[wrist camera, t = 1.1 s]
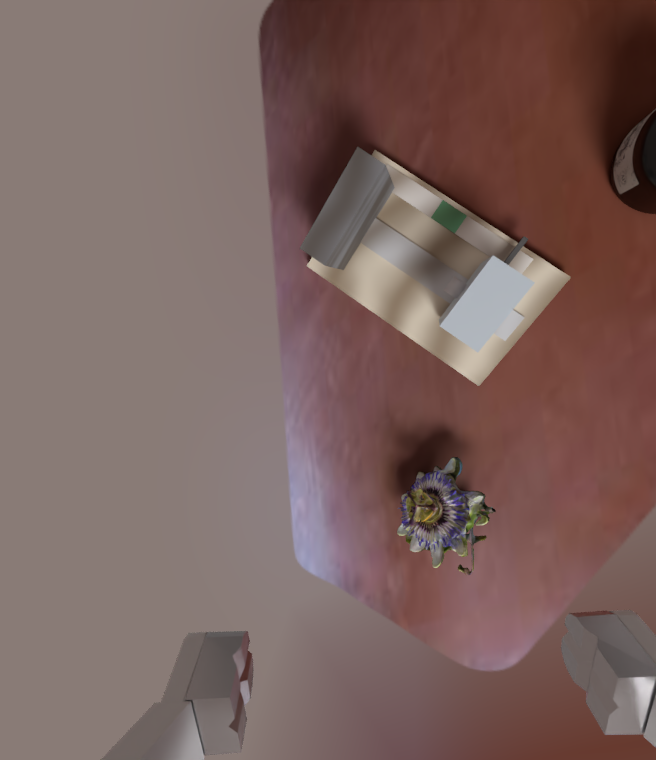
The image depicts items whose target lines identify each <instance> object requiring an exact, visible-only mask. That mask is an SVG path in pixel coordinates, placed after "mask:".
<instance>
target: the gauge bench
mask: <svg viewBox="0 0 656 760" xmlns="http://www.w3.org/2000/svg"><path fill="white" fill-rule="evenodd" d="M517 244H518V243H517V242H516V241H514V240H513V239H511V238H510V237H508V236H507V235H505V234H504V233H502V232H501V231H499V230H497V229H496V228H494V227H493V226H491V225H490V224H488V223H487V222H485V221H484V220H482V219H481V218H479V217H477V216H476V215H474V214H473V213H471V212H470V211H468V210H467V209H465V208H464V207H462V206H461V205H459V204H457V203H456V202H454V201H453V200H451V199H450V198H448V197H447V196H445V195H444V194H442V193H441V192H439V191H437V190H436V189H434V188H433V187H431V186H430V185H428V184H427V183H425V182H424V181H422V180H421V179H419V178H417V177H416V176H414V175H413V174H411V173H410V172H408V171H407V170H405V169H404V168H402V167H401V166H399V165H397V164H396V163H394V162H393V161H391V160H390V159H388V158H387V157H385V156H384V155H382V154H381V153H379V152H377V151H376V150H374V152H373V154H372V156H371V155H370V154H368V153H367V152H365V151H364V150H362V149H360V148H359V147H357V149H356V150H355V152H354V154H353V156H352V157H351V159H350V161H349V163H348V164H347V166H346V168H345V170H344V171H343V173H342V175H341V177H340V178H339V180H338V182H337V184H336V185H335V187H334V189H333V191H332V193H331V194H330V196H329V198H328V200H327V201H326V203H325V205H324V207H323V208H322V210H321V212H320V214H319V215H318V217H317V219H316V221H315V222H314V224H313V226H312V228H311V229H310V231H309V233H308V235H307V236H306V238H305V240H304V242H303V243H302V245H301V247H300V249H301V250H303V251H304V252H306V253H307V254H309V255H310V256H312V258H311V260H310V261H309V263H308V265H307V267H309V268H310V269H312V270H313V271H315V272H316V273H317V274H319V275H320V276H322V277H323V278H325V279H326V280H327V281H329V282H330V283H332V284H333V285H335V286H336V287H338V288H339V289H340V290H342V291H343V292H345V293H346V294H348V295H349V296H350V297H352V298H353V299H355V300H356V301H358V302H359V303H360V304H362V305H363V306H365V307H366V308H368V309H369V310H370V311H372V312H373V313H375V314H376V315H378V316H379V317H381V318H382V319H383V320H385V321H386V322H388V323H389V324H391V325H392V326H393V327H395V328H396V329H398V330H399V331H401V332H402V333H403V334H405V335H406V336H408V337H409V338H411V339H412V340H413V341H415V342H416V343H418V344H419V345H421V346H422V347H424V348H425V349H426V350H428V351H429V352H431V353H432V354H434V355H435V356H436V357H438V358H439V359H441V360H442V361H444V362H445V363H446V364H448V365H449V366H451V367H452V368H454V369H455V370H456V371H458V372H459V373H461V374H462V375H464V376H465V377H467V378H468V379H469V380H471V381H472V382H474V383H475V384H477V385H478V386H479V385H480V384H481V383H482V382H483V381H484V380H485V378H486V377H487V376H488V375H489V374H490V372H491V371H492V370H493V369H494V368H495V366H496V365H497V364H498V363H499V362H500V361H501V359H502V358H503V357H504V356H505V355H506V353H507V352H508V351H509V350H510V349H511V348H512V346H513V345H514V344H515V343H516V342H517V340H518V339H519V338H520V337H521V336H522V335H523V333H524V332H525V331H526V330H527V329H528V327H529V326H530V325H531V324H532V323H533V322H534V320H535V319H536V318H537V317H538V316H539V314H540V313H541V312H542V311H543V310H544V308H545V307H546V306H547V305H548V304H549V303H550V301H551V300H552V299H553V298H554V297H555V295H556V294H557V293H558V292H559V291H560V290H561V288H562V287H563V286H564V285H565V284H566V282H567V281H568V280H569V279H570V278H571V277H570V276H568V275H567V274H565V273H564V272H562V271H560V270H559V269H557V268H556V267H554V266H553V265H551V264H550V263H548V262H547V261H545V260H544V259H542V258H540V257H539V256H537V255H536V254H534V253H533V252H531V251H530V250H528V249H527V248H525V247H524V246H523V247H522V248H521V249H520V251H519V252H518V253H517V255H516V256H515V257H514V258H513V260H512V261H511V262H510V264H509V266H510V267H512V268H513V269H515V270H516V271H518V272H519V273H521V274H522V275H524V276H525V277H527V278H528V279H530V280H532V281H533V282H535V283H534V284H533V286H532V287H531V288H530V289H529V291H528V292H527V293H526V294H525V296H524V297H523V298H522V299H521V300H520V302H519V303H518V304H517V305H516V307H515V308H514V309H513V310H512V311H511V313H510V314H509V315H508V316H507V318H506V319H505V320H504V321H503V323H502V324H501V325H500V326H499V327H498V329H497V330H496V331H495V332H494V334H493V335H492V336H491V337H490V338H489V340H488V341H487V342H486V343H485V345H484V346H483V347H482V348H481V350H480V351H479V352H476V351H475V350H473V349H472V348H471V347H469V346H468V345H466V344H465V343H463V342H462V341H460V340H459V339H457V338H456V337H455V336H453V335H452V334H450V333H449V332H447V331H446V330H444V329H443V328H441V327H440V326H439V319H440V317H441V316H442V315H443V313H444V312H445V311H446V309H447V308H448V307H449V305H450V304H451V303H452V301H453V300H454V299H455V298H454V297H453V296H451V295H450V294H448V293H447V292H445V291H444V289H445V288H446V286H447V285H448V283H449V282H450V281H451V279H452V278H453V277H454V276H455V277H456V278H458V279H459V280H461V281H462V282H464V283H465V284H466V283H467V281H468V280H469V279H470V277H471V276H472V275H473V273H474V272H475V271H476V269H477V268H478V266H479V265H480V264H481V263H482V262H483V261H485V260H486V259H488V258H489V257H491V256H493V255H494V256H495V257H497V258H498V259H500V260H501V261H503V262H504V261H505V260H506V258H507V257H508V256H509V254H510V253H511V252H512V251H513V249H514V248H515V247H516V245H517Z"/></svg>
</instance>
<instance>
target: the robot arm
mask: <svg viewBox="0 0 656 760" xmlns="http://www.w3.org/2000/svg"><path fill="white" fill-rule="evenodd" d="M565 626H566V627H567V629H568V631H569V632H568V633H567V634H566V635H565V636H564V637H563V638H562V645H561V650H562V654H563V659H564V662H565V665H566V667H567V670H568V672H569V674H570V675H571V677H572V679H573V681H574V682H575V683H576V684H578V685H579V686H580V687H581V688H583V689H584V690H585V691H586V692H587V694H586V703H587V705H588V707H589V708H590V710H591V712H592V714H593V715H594V717H595V719H596V720H597V722H598V724H599V725H600V727H601V729H602V731H603V732H604V734H605V735H621V734H622V735H623V734H644V737H645V738H646V739H647V740H648V741H649V742H650V743H651V744H652V745H653V746H655V747H656V635H655V634H654V633H653V632H652V631H651V630H650V628H649V627H648V626H647V625H646V624H645V623H644V622H643V621H642V619H641V618H640V617H639V616H638V615H637V614H636V613H635V612H633V611H632V610H620V611H596V612H581V613H570V614H569V615H567V616H566V620H565ZM249 642H250V640H249V636H248V632H247V631H237V632H236V631H234V632H199V633H188V635H187V636H186V637H185V639H184V641H183V643H182V646H181V649H180V652H179V654H178V657H177V660H176V663H175V665H174V668H173V671H172V673H171V676H170V679H169V682H168V684H167V687H166V690H165V692H164V695H163V698H162V701H161V702H159V703H154V704H153V705H152V707H151V708H149V709H148V711H147V712H146V713H145V714H144V715H143V716H142V717H141V718H140V719H139V720H138V721H137V722H136V723H135V724H134V725H133V726H132V728H130V730H129V731H128V732H127V733H126V734H125V735H124V736H123V737H122V738H121V739H120V740H119V741H118V742H117V744H115V746H113V748H112V749H111V750H110V751H109V752H108V753H107V754H106V755H105V756H104V757H103V758H102V759H101V760H204V759H205V758H204V755H215V754H227V753H238V752H241V750H242V745H243V739H244V733H245V727H246V722H247V717H246V711H245V705H246V703H247V702H248V701H249V700H250V698H251V691H252V684H253V658H252V654H251V653H250V652H249V651H248V647H249Z"/></svg>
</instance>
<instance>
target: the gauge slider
mask: <svg viewBox="0 0 656 760" xmlns="http://www.w3.org/2000/svg"><path fill="white" fill-rule="evenodd" d="M527 240H528V239H527V238H526V237H523V238H522V239H521V240H520V241H519V243H518V244H517V245H516V247H515V248H514V249H513V251H512V252H511V253H510V254H509V256H508V257H507V258H506V260H505V261H504V262H503V261H501V260H500V259H498V258H497V257H495V256H494V255H493V256H491V257H489V258H488V259H486V260H485V261H483V262H482V263H481V264H480V265H479V266H478V268H477V269H476V271H475V272H474V273H473V275H472V276H471V277H470V279H469V280H468V281H467V283H466V284H465V283H464V282H462V281H461V280H459V279H458V278H456V277H455V276H454V277H453V278H452V279H451V281H450V282H449V283H448V285H447V286H446V288H445V289H444V291H445V292H447V293H448V294H450V295H451V296H453V297H454V298H455V299H454V300H453V301H452V303H451V304H450V305H449V307H448V308H447V309H446V311H445V312H444V313H443V315H442V316H441V317H440V319H439V326H440V327H441V328H443V329H444V330H446V331H447V332H449V333H450V334H452V335H453V336H455V337H456V338H457V339H459V340H460V341H462V342H463V343H465V344H466V345H468V346H469V347H471V348H472V349H473V350H475V351H476V352H479V351H480V350H481V348H482V347H483V346H484V345H485V343H486V342H487V341H488V340H489V338H490V337H491V336H492V335H493V334H494V332H495V331H496V330H497V329H498V327H499V326H500V325H501V324H502V323H503V321H504V320H505V319H506V318H507V316H508V315H509V314H510V313H511V311H512V310H513V309H514V308H515V307H516V305H517V304H518V303H519V302H520V300H521V299H522V298H523V297H524V296H525V294H526V293H527V292H528V291H529V289H530V288H531V287H532V286H533V284H534V283H535V282H533V281H532V280H530V279H528V278H527V277H525V276H524V275H522V274H521V273H519V272H518V271H516V270H515V269H513V268H512V267H510V266H509V264H510V262H511V261H512V260H513V258H514V257H515V256H516V255H517V253H518V252H519V251H520V249H521V248H522V247H523V246H524V244H525V243H526V242H527Z"/></svg>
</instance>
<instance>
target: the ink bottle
mask: <svg viewBox="0 0 656 760" xmlns="http://www.w3.org/2000/svg"><path fill="white" fill-rule="evenodd" d="M610 177H611V183H612V186H613V189H614V191H615V193H616V194H617V196H618V197H619V198H620V199H621V200H622V201H623V202H624V203H625V204H626V205H628V206H629V207H631V208H633V209H635V210H637V211H640V212H644V213H650V214H656V109H655V110H654V111H652V112H651V113H650V114H649V115H648V116H647V117H645V118H644V119H643V120H642V121H641V122H639V123H638V124H637V125H636V126H635V127H634V128H633V129H632V130H631V131H630V132H629V133H628V134H627V135H626V137H625V138H624V139H623V141H622V142H621V144H620V145H619V147H618V149H617V151H616V153H615V155H614V158H613V161H612V165H611V172H610Z"/></svg>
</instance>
